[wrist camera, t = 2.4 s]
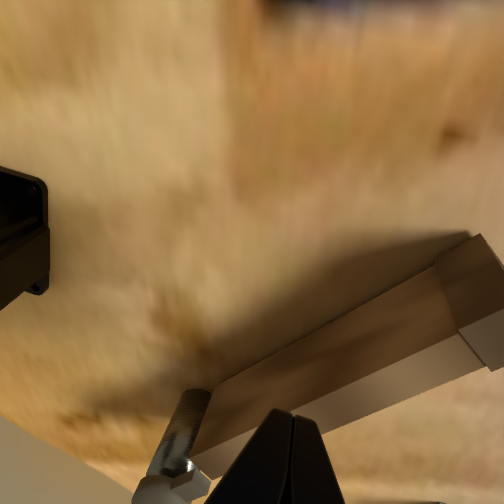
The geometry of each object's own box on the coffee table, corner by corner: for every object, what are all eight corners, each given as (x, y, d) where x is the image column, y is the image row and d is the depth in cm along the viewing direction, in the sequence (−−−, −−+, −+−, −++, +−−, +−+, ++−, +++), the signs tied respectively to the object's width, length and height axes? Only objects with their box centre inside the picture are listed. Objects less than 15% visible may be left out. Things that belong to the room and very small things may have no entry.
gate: (198, 430, 25) (160, 533, 20) (167, 402, 25) (120, 500, 20) (510, 275, 17) (578, 380, 12) (476, 227, 17) (532, 317, 11)
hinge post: (177, 411, 25) (143, 487, 21) (183, 384, 24) (148, 458, 20) (216, 424, 25) (189, 503, 21) (223, 397, 24) (197, 474, 20)
